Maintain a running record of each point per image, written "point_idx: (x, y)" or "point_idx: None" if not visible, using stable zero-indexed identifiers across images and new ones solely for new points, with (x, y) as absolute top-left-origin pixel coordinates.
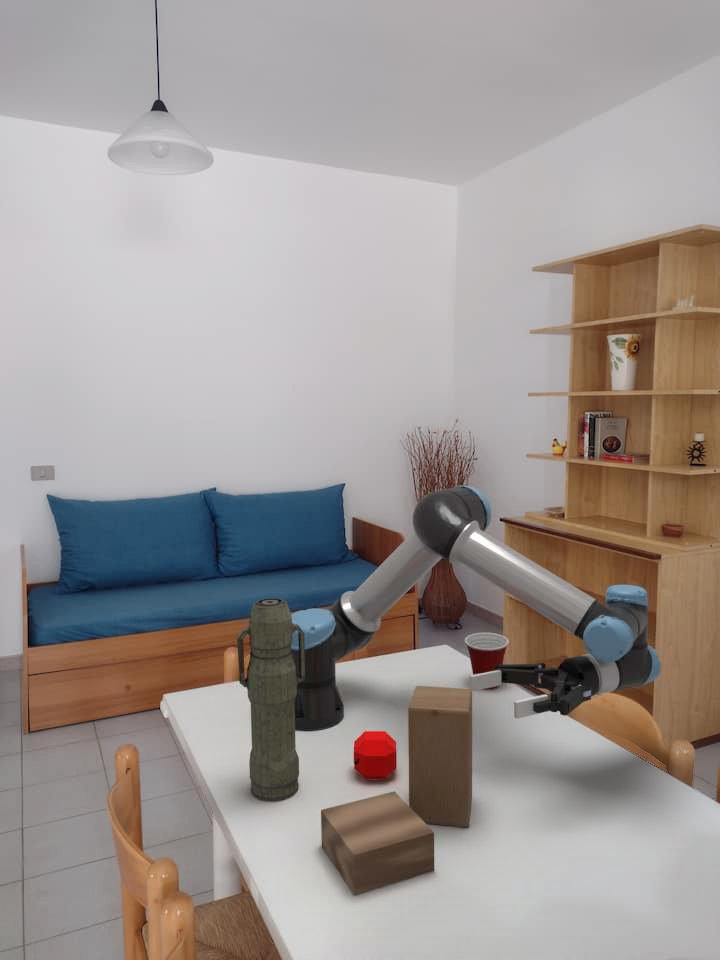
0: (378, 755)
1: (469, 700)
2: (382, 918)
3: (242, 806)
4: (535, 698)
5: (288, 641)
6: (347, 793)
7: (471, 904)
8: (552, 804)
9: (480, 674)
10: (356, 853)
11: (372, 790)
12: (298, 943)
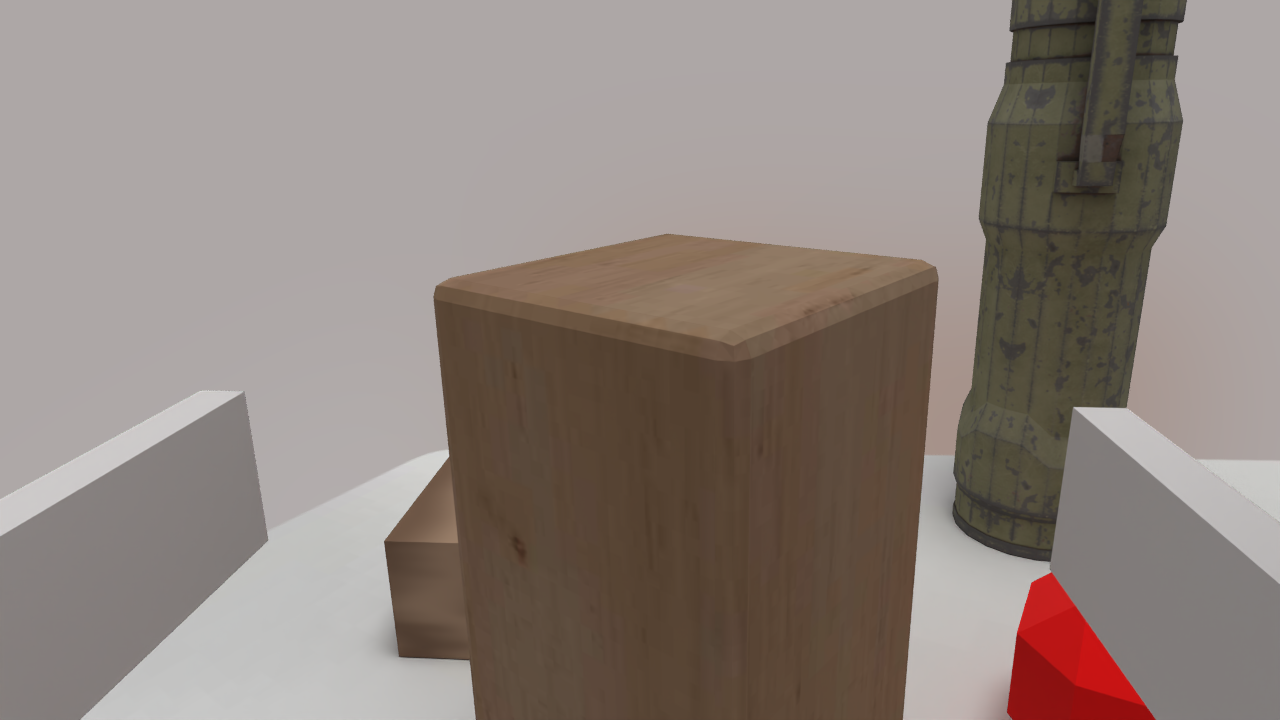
0: (1025, 614)
1: (550, 305)
2: (375, 532)
3: (946, 473)
4: (12, 496)
5: (1049, 3)
6: (958, 637)
7: (211, 662)
8: None
9: (1169, 467)
10: None
11: (962, 703)
12: (445, 453)
